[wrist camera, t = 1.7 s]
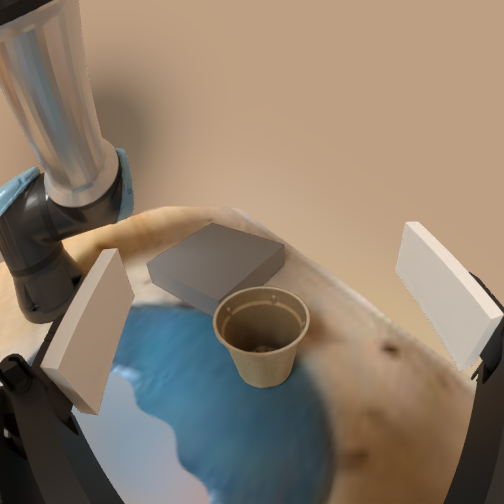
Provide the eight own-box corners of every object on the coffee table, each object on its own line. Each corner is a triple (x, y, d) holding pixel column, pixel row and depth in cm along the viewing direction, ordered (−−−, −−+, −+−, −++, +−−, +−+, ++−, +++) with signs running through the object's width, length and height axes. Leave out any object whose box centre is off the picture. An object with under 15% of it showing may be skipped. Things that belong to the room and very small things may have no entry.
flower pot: (213, 393, 30) (198, 345, 25) (236, 333, 37) (228, 282, 33) (298, 406, 28) (304, 360, 23) (308, 342, 35) (313, 289, 31)
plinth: (152, 282, 48) (146, 263, 46) (214, 240, 58) (211, 222, 56) (222, 322, 39) (218, 300, 37) (284, 264, 50) (284, 244, 48)
